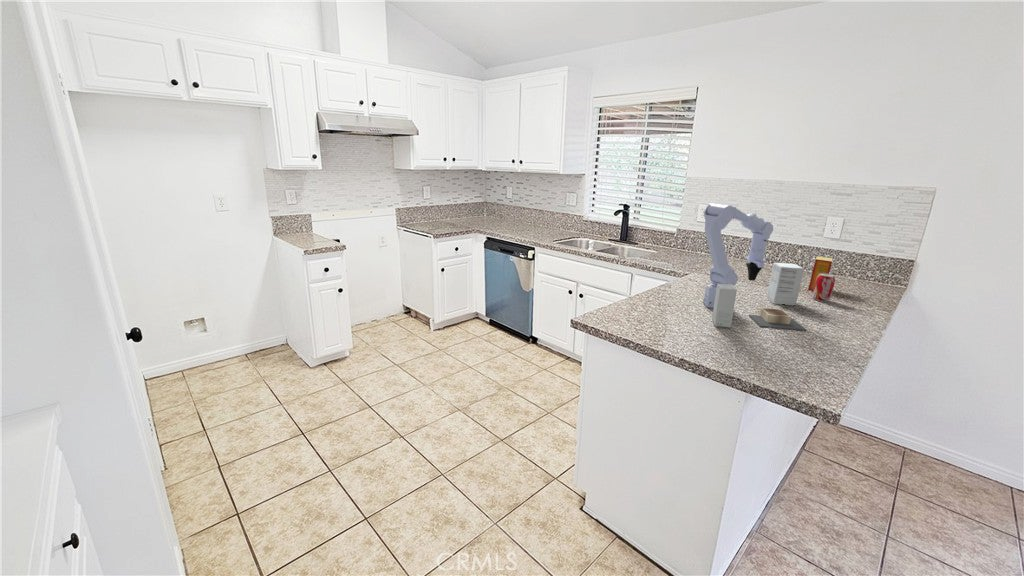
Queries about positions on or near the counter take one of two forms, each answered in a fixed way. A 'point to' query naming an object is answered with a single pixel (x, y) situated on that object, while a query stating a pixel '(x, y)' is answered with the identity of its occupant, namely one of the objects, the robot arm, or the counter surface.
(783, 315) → the maple slab
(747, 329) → the counter surface
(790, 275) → the supplement box
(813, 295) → the soda can
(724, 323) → the skincare box
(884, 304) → the counter surface
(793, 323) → the mat
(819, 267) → the baking soda box
